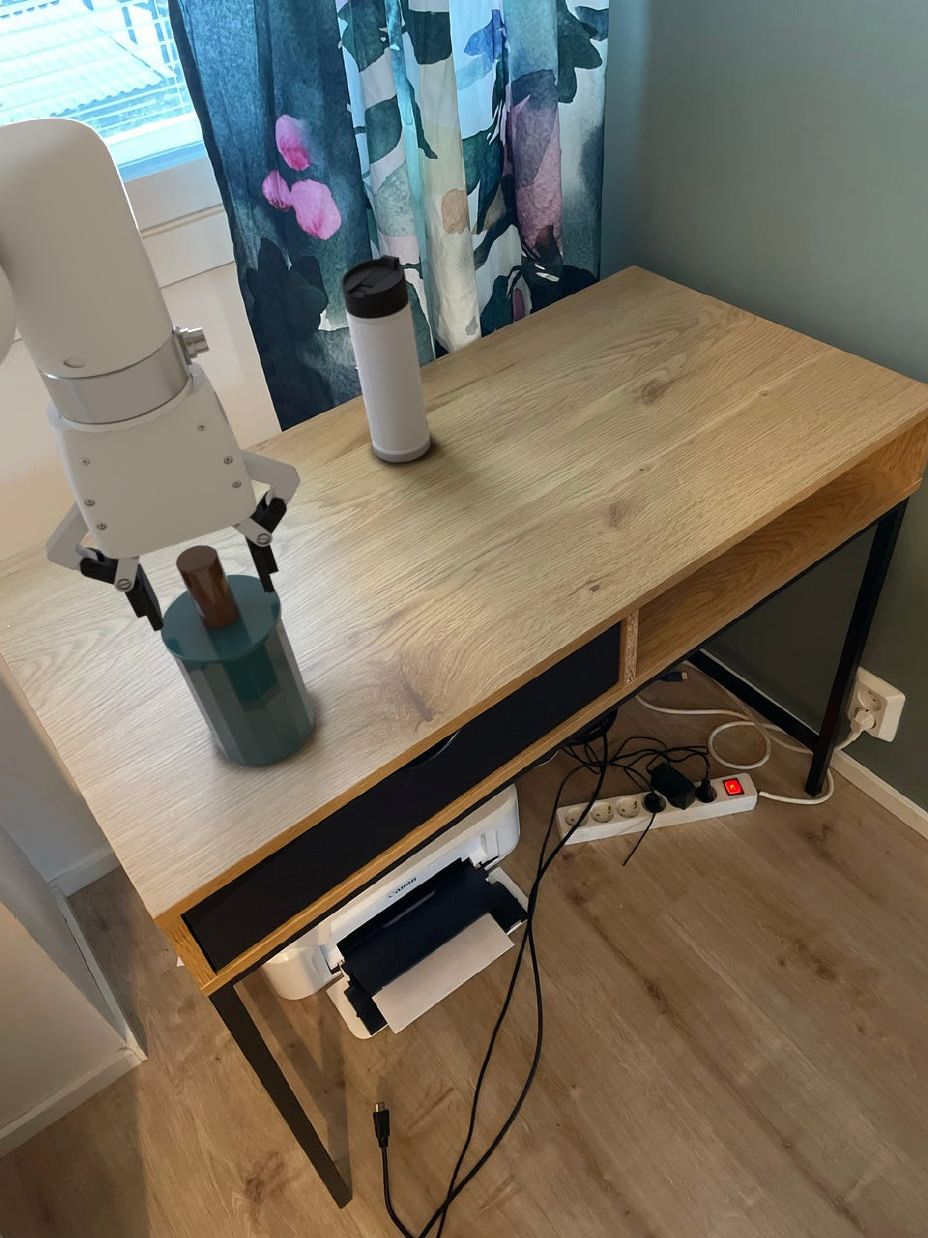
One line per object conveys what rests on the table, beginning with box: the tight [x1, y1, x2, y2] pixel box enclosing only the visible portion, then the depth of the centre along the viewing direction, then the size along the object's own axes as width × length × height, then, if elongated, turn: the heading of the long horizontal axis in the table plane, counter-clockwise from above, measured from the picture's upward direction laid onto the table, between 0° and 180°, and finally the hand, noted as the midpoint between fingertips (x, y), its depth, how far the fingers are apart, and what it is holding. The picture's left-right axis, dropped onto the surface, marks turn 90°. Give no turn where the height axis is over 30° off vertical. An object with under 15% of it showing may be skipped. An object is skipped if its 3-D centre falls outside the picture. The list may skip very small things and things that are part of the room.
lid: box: [159, 544, 283, 665], centre depth 62 cm, size 9×9×7 cm
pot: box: [172, 617, 315, 768], centre depth 69 cm, size 8×8×12 cm
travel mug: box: [340, 254, 431, 463], centre depth 92 cm, size 6×7×20 cm
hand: (211, 597), depth 62 cm, fingers open, 7 cm apart
